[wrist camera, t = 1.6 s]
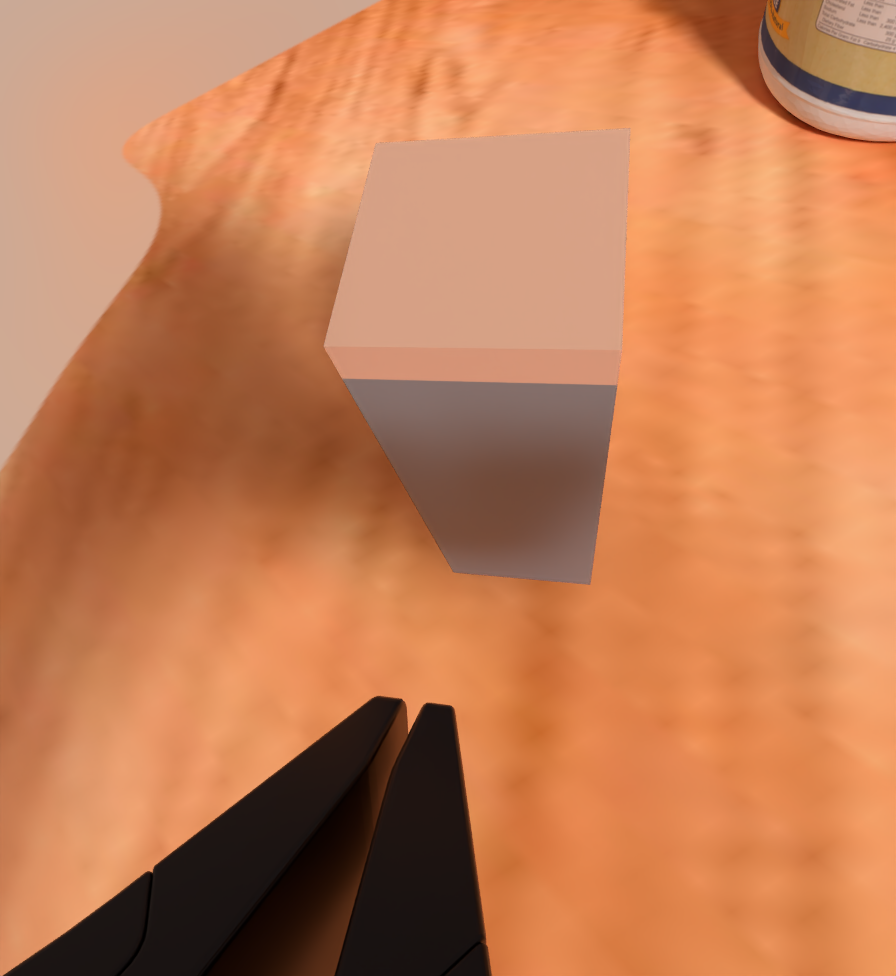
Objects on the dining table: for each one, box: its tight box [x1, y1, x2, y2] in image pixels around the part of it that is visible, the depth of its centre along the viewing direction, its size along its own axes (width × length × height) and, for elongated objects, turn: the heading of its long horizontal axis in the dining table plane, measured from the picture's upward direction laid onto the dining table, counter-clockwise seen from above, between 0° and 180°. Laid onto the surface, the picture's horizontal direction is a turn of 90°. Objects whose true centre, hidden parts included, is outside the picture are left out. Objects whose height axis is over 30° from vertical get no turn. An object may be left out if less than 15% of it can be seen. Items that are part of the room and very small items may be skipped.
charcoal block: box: [324, 128, 630, 584], centre depth 18 cm, size 5×5×14 cm
